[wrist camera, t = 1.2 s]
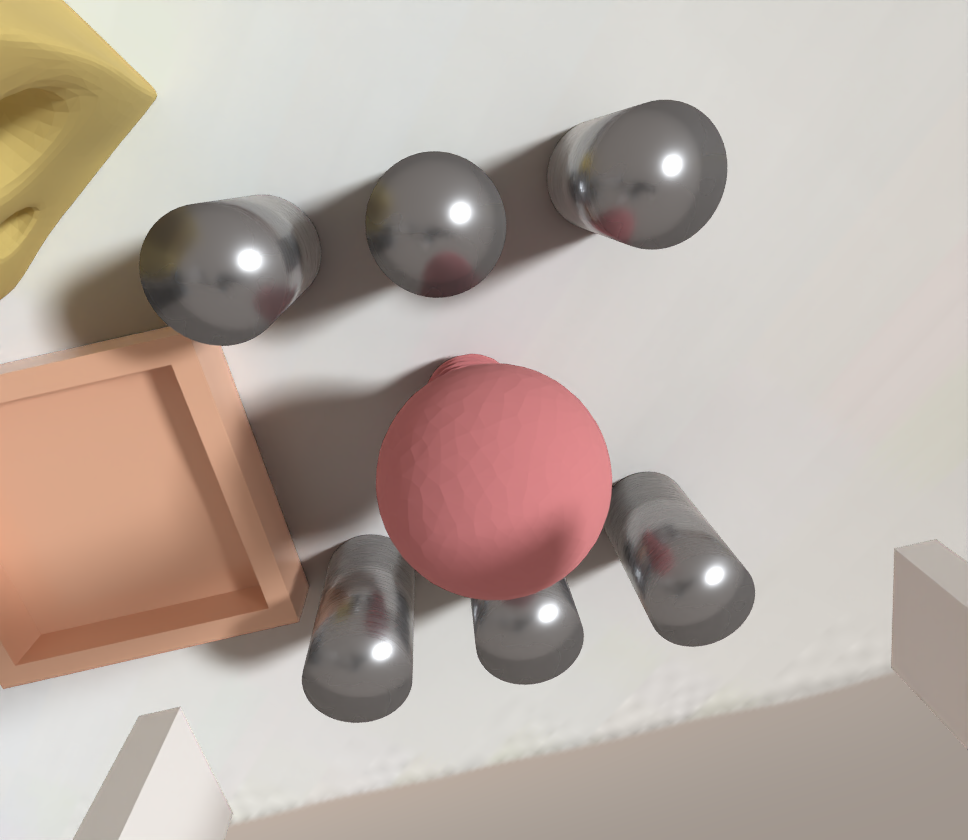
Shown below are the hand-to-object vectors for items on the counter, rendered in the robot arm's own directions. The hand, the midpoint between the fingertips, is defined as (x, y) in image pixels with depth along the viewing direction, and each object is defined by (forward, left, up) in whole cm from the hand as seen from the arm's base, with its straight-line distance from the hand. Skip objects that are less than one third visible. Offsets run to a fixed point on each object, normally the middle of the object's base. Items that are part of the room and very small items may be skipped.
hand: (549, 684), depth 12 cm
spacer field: (0, 0, -17) cm, 17 cm away
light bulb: (0, 0, -17) cm, 17 cm away
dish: (-16, -1, -17) cm, 23 cm away
